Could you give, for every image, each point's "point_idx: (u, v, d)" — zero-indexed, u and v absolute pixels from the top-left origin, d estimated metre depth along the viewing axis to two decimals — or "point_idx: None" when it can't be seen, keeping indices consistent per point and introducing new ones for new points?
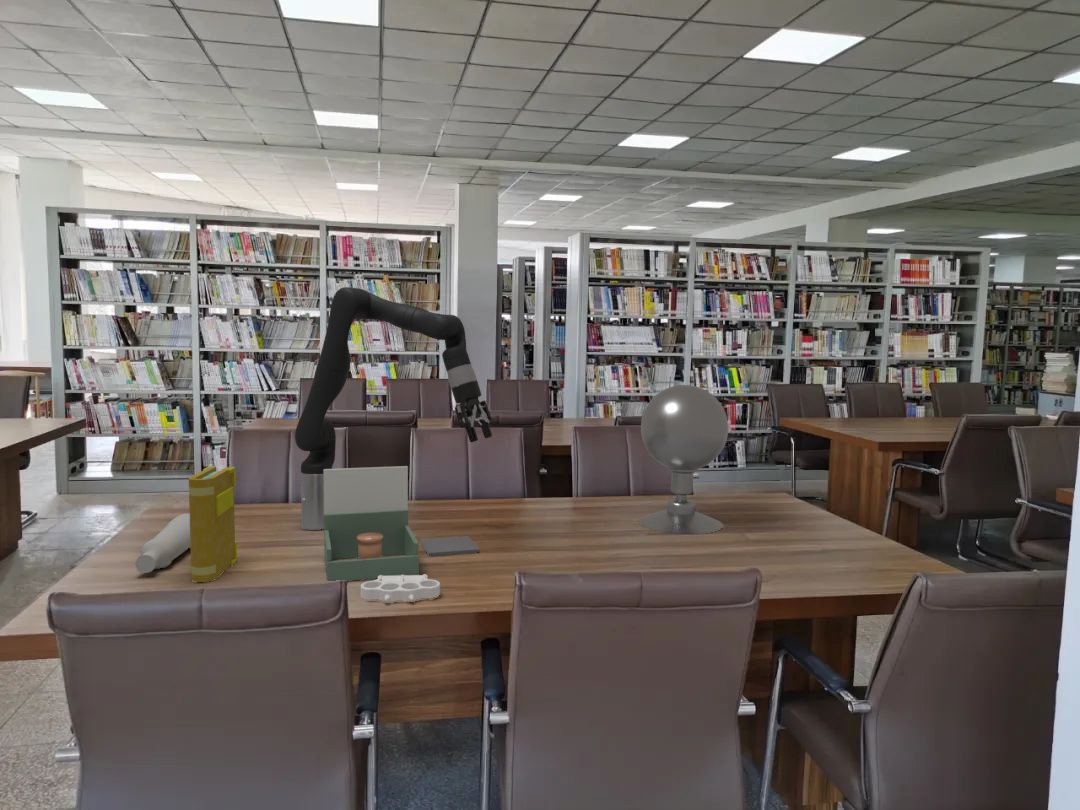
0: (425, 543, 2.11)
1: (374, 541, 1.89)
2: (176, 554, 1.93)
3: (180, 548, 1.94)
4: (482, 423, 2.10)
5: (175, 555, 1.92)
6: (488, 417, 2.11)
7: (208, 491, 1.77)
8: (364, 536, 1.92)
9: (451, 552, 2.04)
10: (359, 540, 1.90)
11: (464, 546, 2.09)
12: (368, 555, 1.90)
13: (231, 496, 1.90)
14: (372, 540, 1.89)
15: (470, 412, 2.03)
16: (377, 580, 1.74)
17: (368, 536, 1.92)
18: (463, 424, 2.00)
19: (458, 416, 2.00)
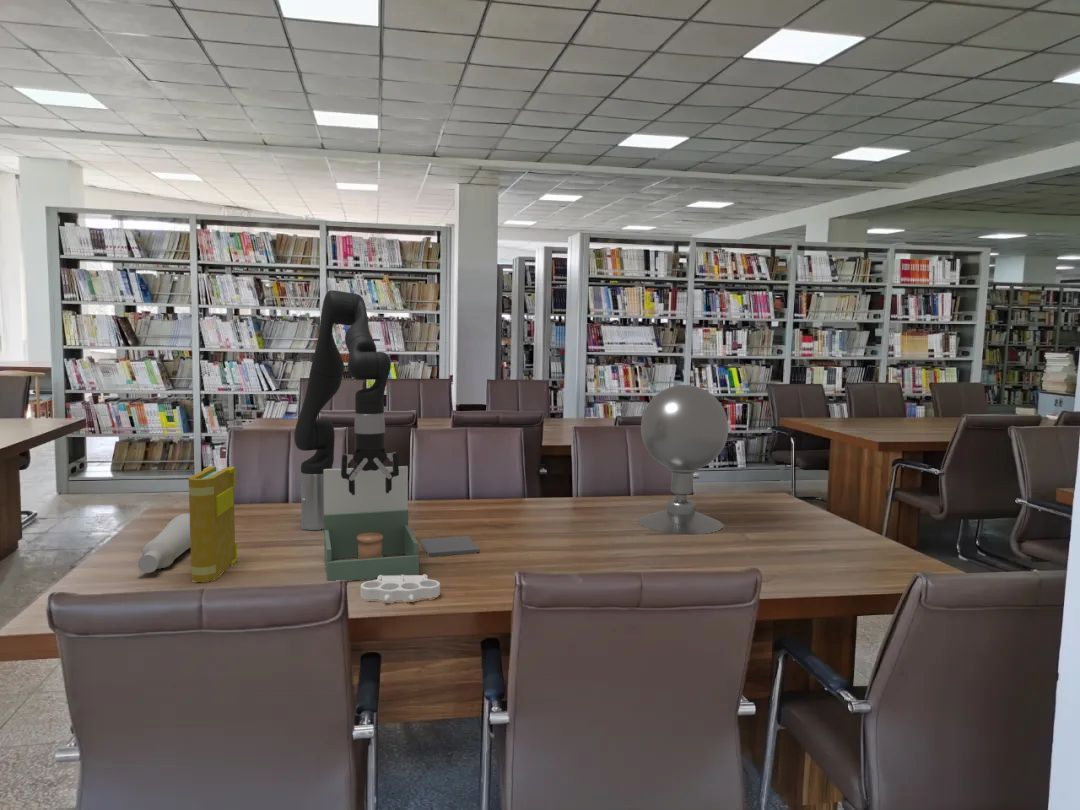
0: (425, 543, 2.11)
1: (374, 541, 1.89)
2: (177, 554, 1.93)
3: (181, 548, 1.94)
4: (386, 476, 1.92)
5: (176, 555, 1.92)
6: (394, 472, 1.91)
7: (208, 491, 1.77)
8: (364, 536, 1.92)
9: (451, 552, 2.04)
10: (359, 540, 1.90)
11: (464, 546, 2.09)
12: (368, 555, 1.90)
13: (231, 496, 1.90)
14: (372, 540, 1.89)
15: (358, 464, 1.89)
16: (377, 580, 1.74)
17: (368, 536, 1.92)
18: None
19: (341, 464, 1.89)
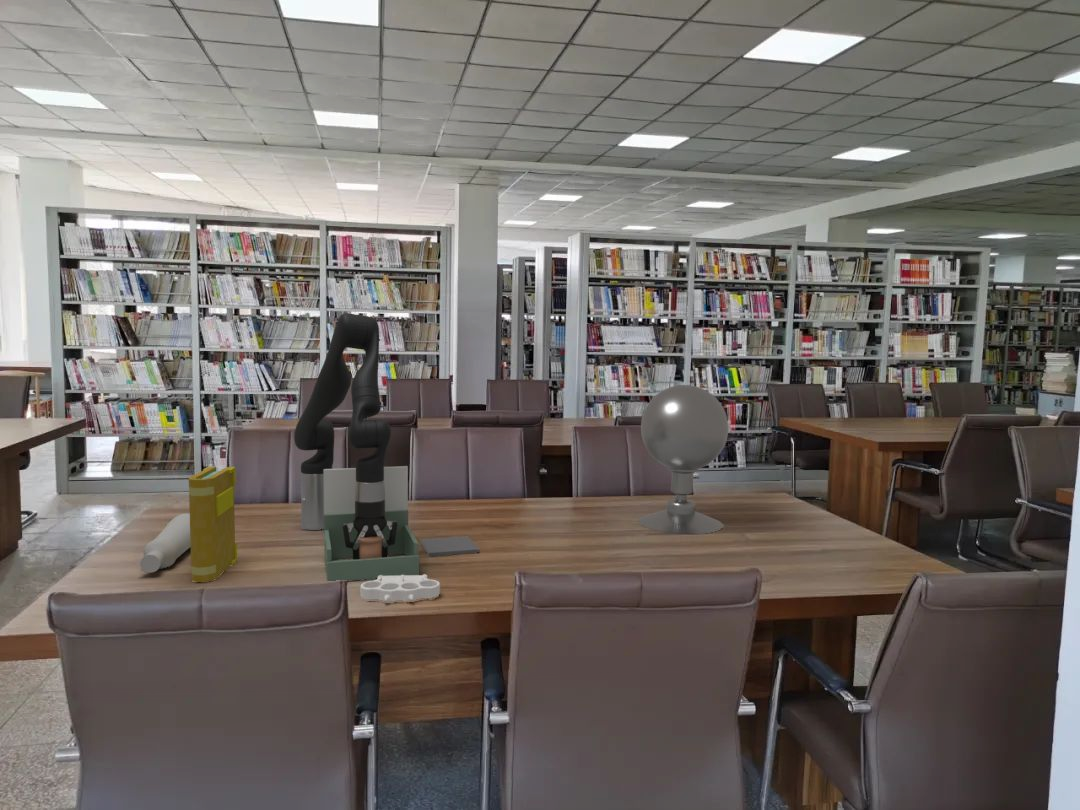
0: (425, 543, 2.11)
1: (374, 541, 1.89)
2: (179, 554, 1.93)
3: (182, 548, 1.94)
4: None
5: (178, 555, 1.93)
6: (390, 541, 1.93)
7: (208, 491, 1.77)
8: None
9: (451, 552, 2.04)
10: (359, 540, 1.90)
11: (464, 546, 2.09)
12: (368, 554, 1.90)
13: (231, 496, 1.90)
14: (372, 539, 1.89)
15: (359, 532, 1.90)
16: (377, 580, 1.74)
17: None
18: None
19: None
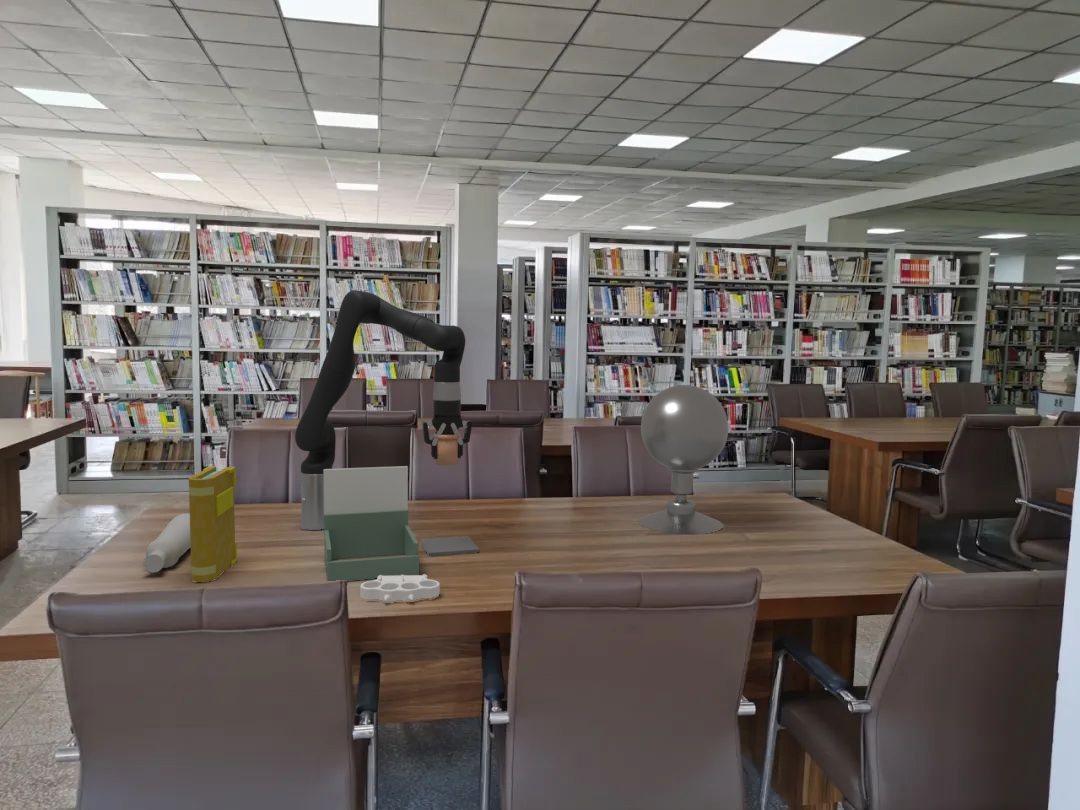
0: (425, 543, 2.11)
1: (452, 437, 2.04)
2: (180, 553, 1.93)
3: (184, 547, 1.94)
4: None
5: (180, 554, 1.93)
6: (465, 439, 2.08)
7: (208, 491, 1.77)
8: None
9: (451, 552, 2.04)
10: (438, 437, 2.05)
11: (464, 546, 2.09)
12: (446, 450, 2.05)
13: (231, 496, 1.90)
14: (450, 436, 2.04)
15: (437, 430, 2.05)
16: (377, 580, 1.74)
17: None
18: (425, 441, 2.06)
19: (423, 432, 2.06)
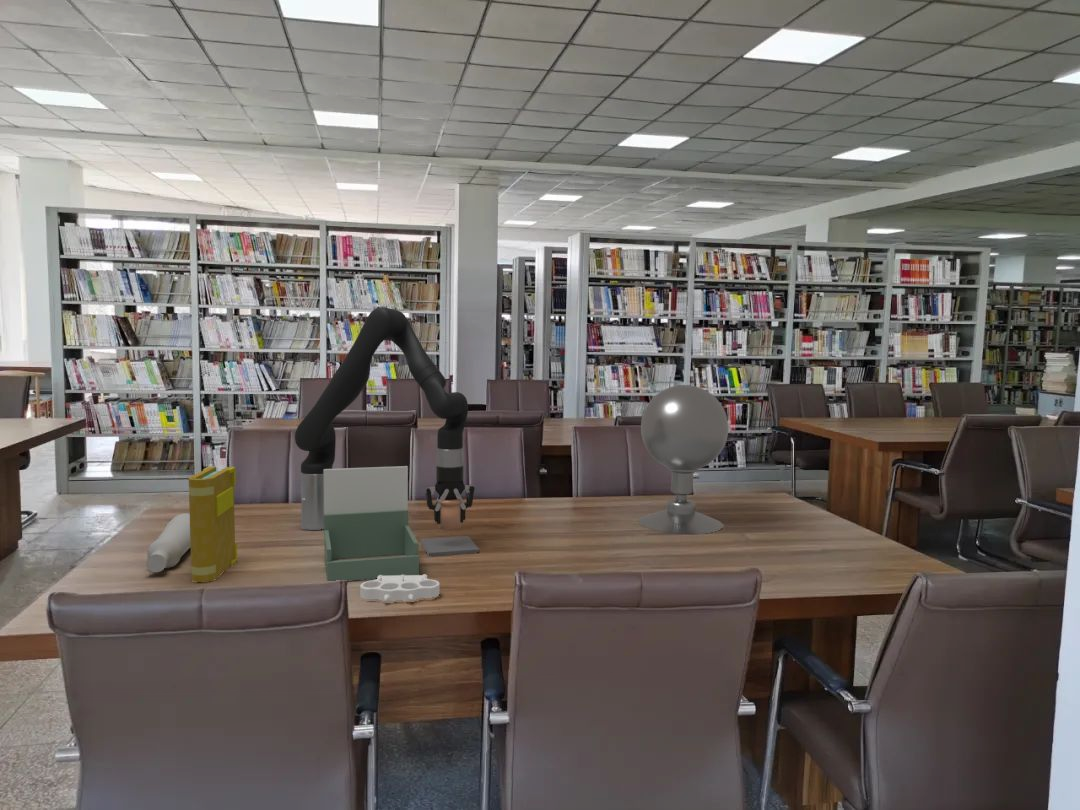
0: (425, 543, 2.11)
1: (455, 503, 2.07)
2: (182, 553, 1.93)
3: (185, 547, 1.95)
4: None
5: (181, 554, 1.93)
6: (467, 503, 2.11)
7: (208, 491, 1.77)
8: None
9: (451, 552, 2.04)
10: (441, 502, 2.08)
11: (464, 546, 2.09)
12: (449, 515, 2.07)
13: (231, 496, 1.90)
14: (453, 502, 2.07)
15: (440, 495, 2.08)
16: (377, 580, 1.74)
17: None
18: (428, 506, 2.08)
19: (426, 497, 2.09)
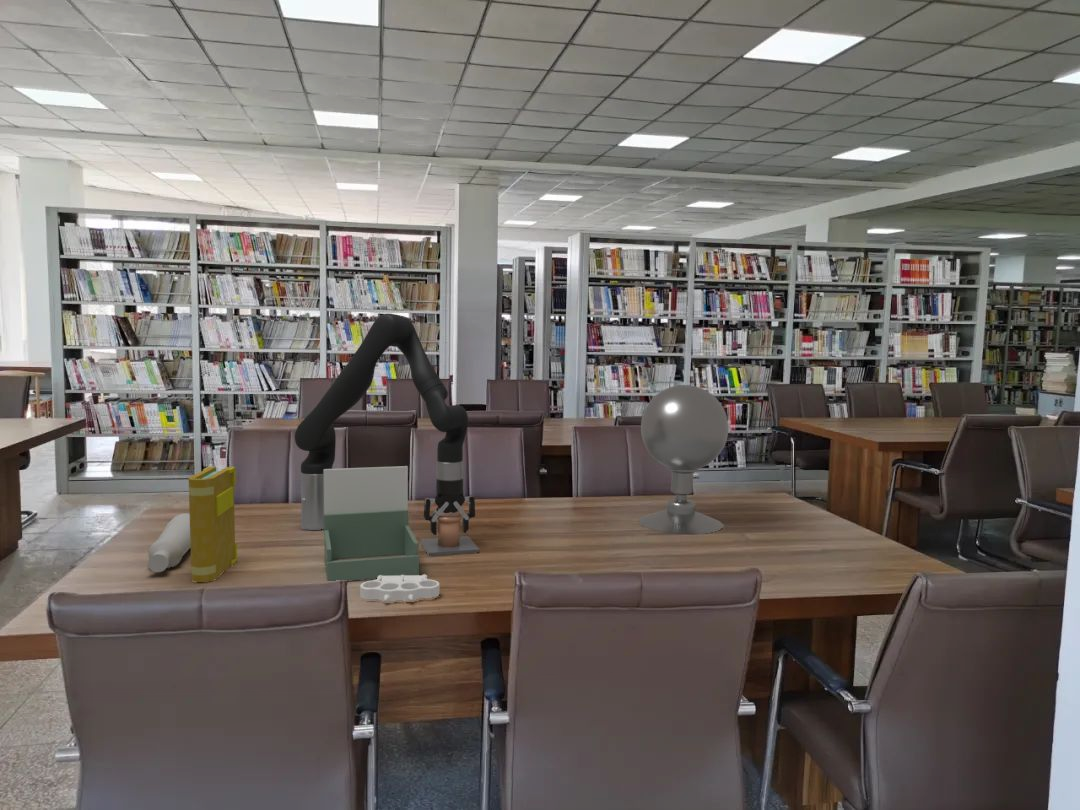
0: (425, 543, 2.11)
1: (454, 520, 2.08)
2: (183, 553, 1.93)
3: (186, 547, 1.95)
4: (463, 517, 2.12)
5: None
6: (470, 514, 2.11)
7: (208, 491, 1.77)
8: (443, 516, 2.10)
9: (451, 552, 2.04)
10: (440, 519, 2.08)
11: (464, 546, 2.09)
12: (448, 532, 2.08)
13: (231, 496, 1.90)
14: (452, 519, 2.07)
15: (439, 507, 2.08)
16: (377, 580, 1.74)
17: (447, 516, 2.10)
18: (424, 517, 2.08)
19: (424, 507, 2.09)
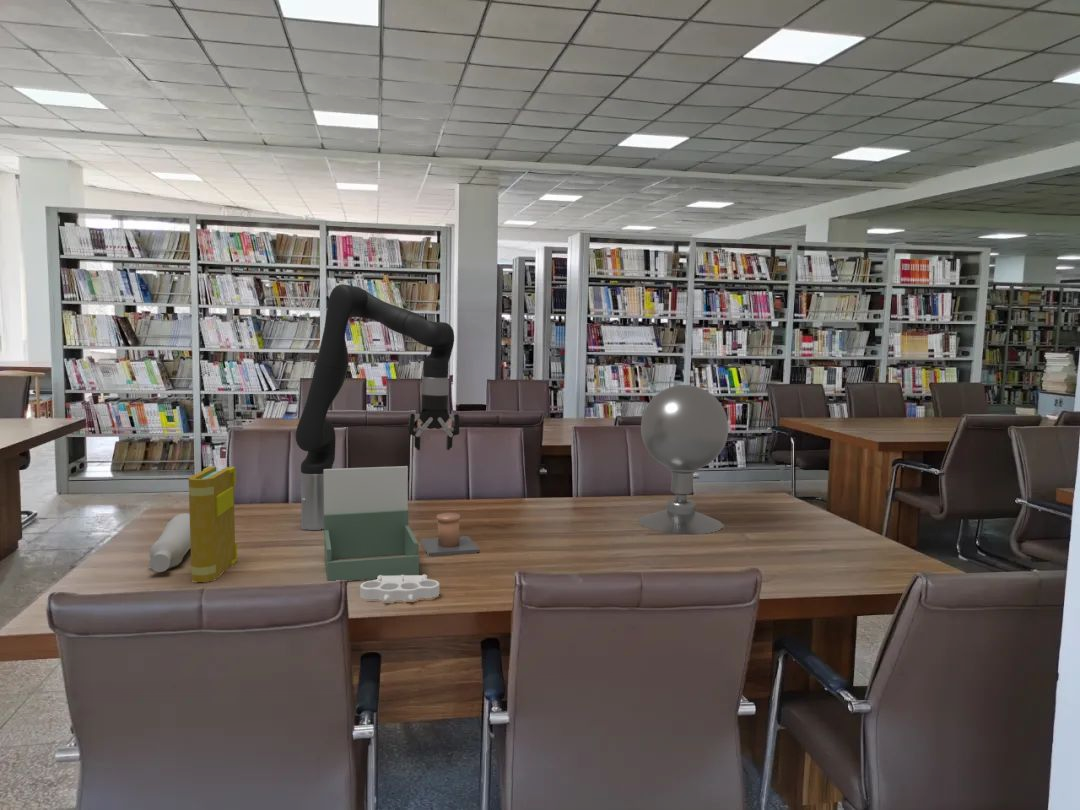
0: (425, 543, 2.11)
1: (453, 520, 2.08)
2: (184, 553, 1.94)
3: (187, 547, 1.95)
4: (447, 434, 2.14)
5: None
6: (455, 431, 2.13)
7: (208, 491, 1.77)
8: (443, 515, 2.10)
9: (451, 552, 2.04)
10: (439, 519, 2.08)
11: (464, 546, 2.09)
12: (447, 532, 2.08)
13: (231, 496, 1.90)
14: (451, 518, 2.07)
15: (424, 422, 2.10)
16: (377, 580, 1.74)
17: (447, 515, 2.10)
18: (408, 431, 2.10)
19: None
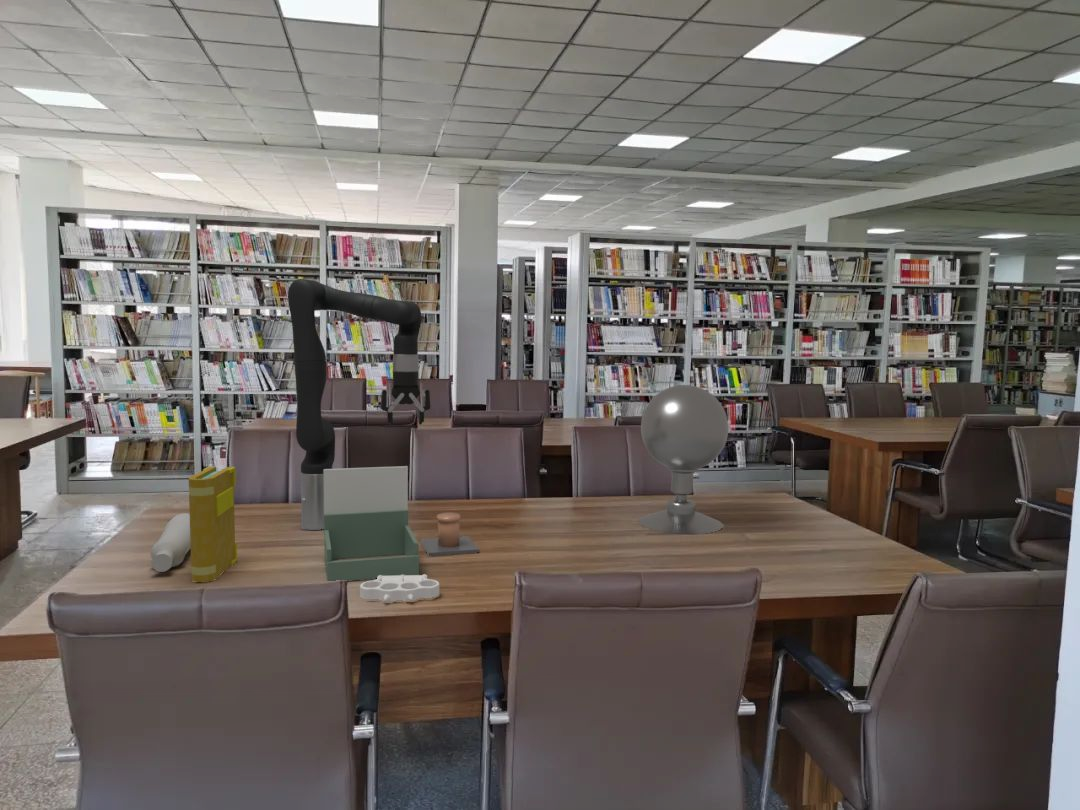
0: (425, 543, 2.11)
1: (453, 520, 2.07)
2: (185, 553, 1.94)
3: (188, 547, 1.95)
4: (419, 409, 2.22)
5: None
6: (426, 406, 2.21)
7: (208, 491, 1.77)
8: (443, 515, 2.10)
9: (451, 552, 2.04)
10: (439, 519, 2.08)
11: (464, 546, 2.09)
12: (447, 532, 2.08)
13: (231, 496, 1.90)
14: (451, 519, 2.07)
15: (395, 398, 2.19)
16: (377, 580, 1.74)
17: (447, 516, 2.10)
18: (381, 407, 2.19)
19: (381, 398, 2.19)
